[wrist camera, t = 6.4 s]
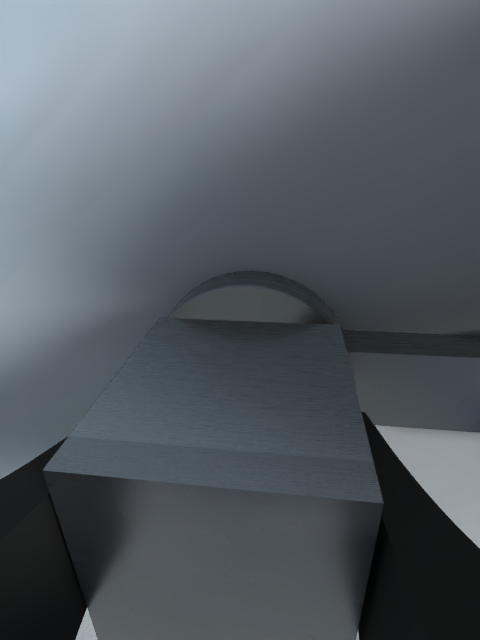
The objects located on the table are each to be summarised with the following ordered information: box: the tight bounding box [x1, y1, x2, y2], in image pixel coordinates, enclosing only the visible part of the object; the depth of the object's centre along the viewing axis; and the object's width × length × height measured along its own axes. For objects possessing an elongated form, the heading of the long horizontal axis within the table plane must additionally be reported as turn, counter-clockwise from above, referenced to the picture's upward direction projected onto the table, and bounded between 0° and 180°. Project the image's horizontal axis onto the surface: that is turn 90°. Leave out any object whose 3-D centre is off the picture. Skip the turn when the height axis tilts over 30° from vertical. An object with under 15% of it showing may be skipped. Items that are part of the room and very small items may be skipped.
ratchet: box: [168, 271, 480, 432], centre depth 12 cm, size 20×7×4 cm, turn 90°
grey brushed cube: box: [42, 318, 384, 640], centre depth 10 cm, size 5×5×6 cm
